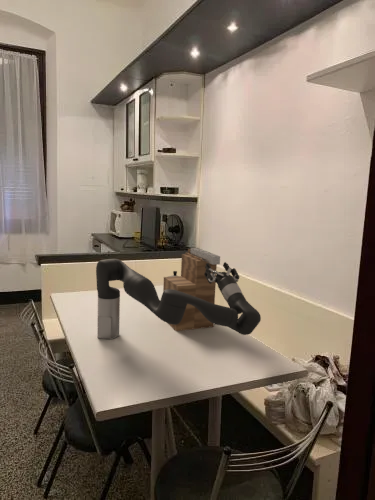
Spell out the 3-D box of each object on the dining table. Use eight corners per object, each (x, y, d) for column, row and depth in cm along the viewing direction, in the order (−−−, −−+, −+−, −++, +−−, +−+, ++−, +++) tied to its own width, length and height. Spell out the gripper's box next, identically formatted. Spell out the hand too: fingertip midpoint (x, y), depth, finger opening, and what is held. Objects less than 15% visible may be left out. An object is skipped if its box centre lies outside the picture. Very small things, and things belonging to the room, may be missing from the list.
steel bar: (219, 264, 170) (220, 256, 169) (212, 264, 168) (213, 256, 168) (196, 254, 191) (197, 247, 191) (190, 255, 190) (190, 247, 190)
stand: (213, 326, 184) (217, 254, 179) (175, 331, 177) (178, 256, 171) (197, 314, 200) (200, 248, 195) (162, 318, 193) (164, 249, 188)
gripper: (248, 282, 159) (232, 256, 170) (217, 284, 153) (203, 258, 164) (242, 295, 163) (227, 269, 175) (212, 298, 158) (198, 271, 169)
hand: (215, 264), depth 170 cm, fingers open, 8 cm apart
